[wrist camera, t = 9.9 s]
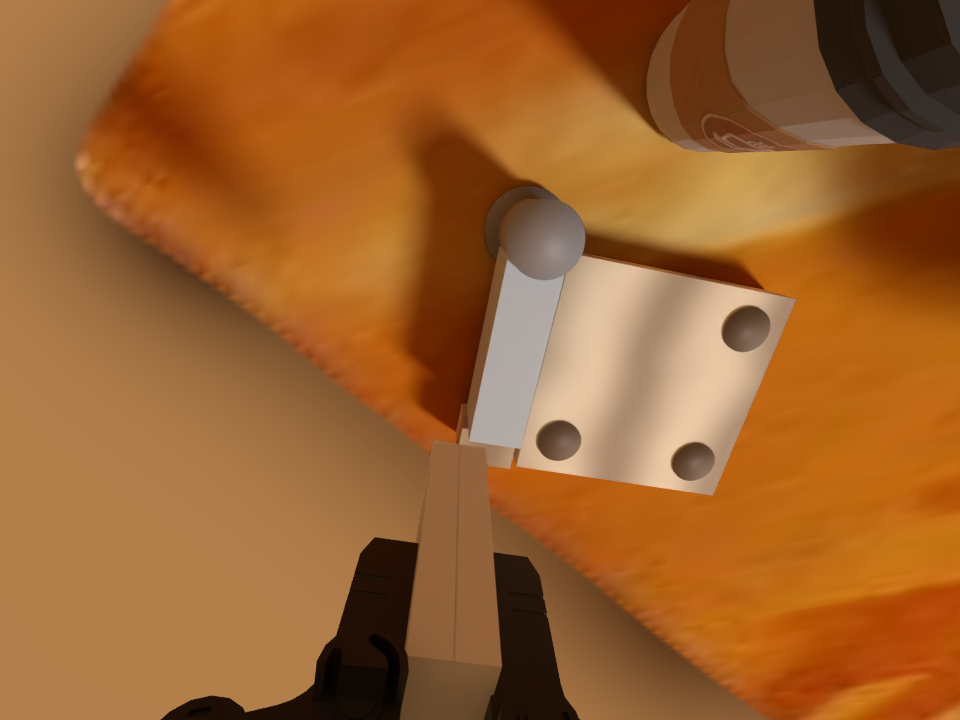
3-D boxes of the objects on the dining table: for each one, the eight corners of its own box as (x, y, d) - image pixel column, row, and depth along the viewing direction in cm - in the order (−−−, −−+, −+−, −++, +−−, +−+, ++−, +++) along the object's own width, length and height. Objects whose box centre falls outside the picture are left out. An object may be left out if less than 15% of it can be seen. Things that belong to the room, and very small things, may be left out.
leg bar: (504, 192, 23) (516, 191, 18) (566, 205, 23) (594, 208, 18) (461, 403, 26) (463, 448, 22) (516, 412, 27) (528, 458, 22)
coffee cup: (595, 145, 23) (819, 62, 9) (662, -54, 20) (1127, -617, 6) (743, 194, 24) (1150, 190, 10) (824, 12, 22) (1524, -341, 7)
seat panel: (785, 241, 25) (829, 247, 22) (692, 471, 30) (719, 502, 27) (493, 177, 23) (499, 175, 20) (443, 433, 28) (442, 462, 25)
